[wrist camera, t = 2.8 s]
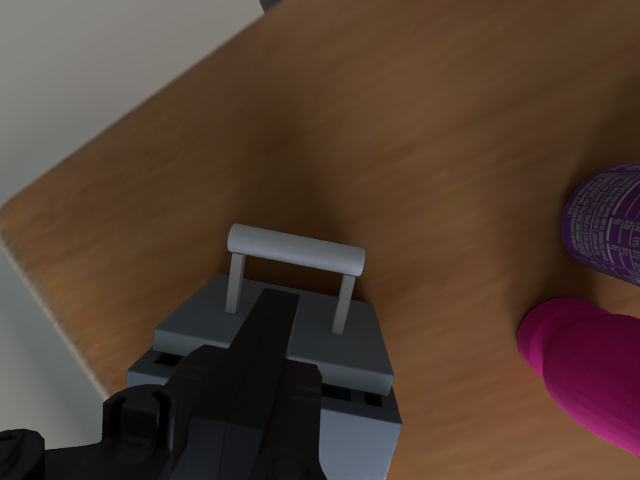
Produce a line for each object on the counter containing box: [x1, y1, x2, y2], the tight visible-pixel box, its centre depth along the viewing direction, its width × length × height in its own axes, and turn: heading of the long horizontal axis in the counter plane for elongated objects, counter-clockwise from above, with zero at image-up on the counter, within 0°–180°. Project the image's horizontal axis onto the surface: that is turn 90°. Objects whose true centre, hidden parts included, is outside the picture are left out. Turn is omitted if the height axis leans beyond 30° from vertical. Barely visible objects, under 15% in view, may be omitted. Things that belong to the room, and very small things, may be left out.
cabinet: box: [126, 346, 402, 480], centre depth 20 cm, size 15×13×10 cm
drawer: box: [153, 224, 394, 404], centre depth 19 cm, size 18×11×8 cm, turn 169°
